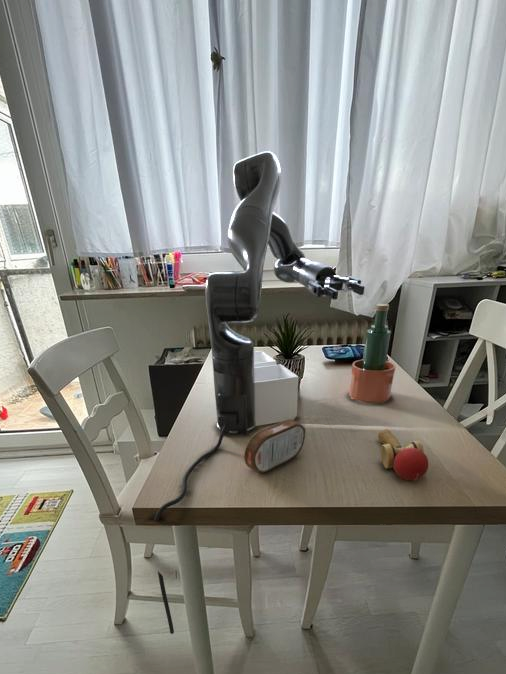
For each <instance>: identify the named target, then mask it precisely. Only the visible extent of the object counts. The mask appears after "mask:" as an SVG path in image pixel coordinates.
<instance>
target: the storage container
mask: <svg viewBox="0 0 506 674" xmlns="http://www.w3.org/2000/svg"><path fill="white" fill-rule="evenodd" d="M254 384H255V422H256V427H259V426H264V425H265V426H266V425H269V424H278V423H280V422H282V421H285V420H288V419H292V420H294V421H296V418H297V417H298V400H299V399H298V398H299V397H298V396H299V395H298V394H299V376H298V375H297V374H295V373H294V372H293V371H291V370H290V369H289V368H287V367H286V366H284V365H283V364H282V363H278V364H277V360H276V359H275V358H273V357H271V356H270V355H268V354H267V353H266V352H264V351H263V350H257V351H254Z"/></svg>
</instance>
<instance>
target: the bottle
mask: <svg viewBox="0 0 506 674" xmlns="http://www.w3.org/2000/svg"><path fill="white" fill-rule="evenodd" d="M389 309H390V304H388V303H377V304H376V305H375V318H374V323H373V324H372V325H370V329H367V330H366V333H365V340H364V341H365V342H364V349H363V356H362V360H363V364H362V369H365V370H372V371H382V370H385V365H386V361H387V357H388V351H389V346H390V340H391V334H392V331H391V330H389V325H386V324H387V319H388V318H387V316H388V311H389Z"/></svg>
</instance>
